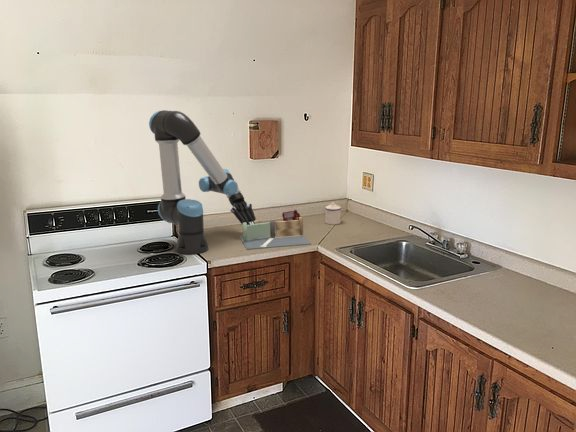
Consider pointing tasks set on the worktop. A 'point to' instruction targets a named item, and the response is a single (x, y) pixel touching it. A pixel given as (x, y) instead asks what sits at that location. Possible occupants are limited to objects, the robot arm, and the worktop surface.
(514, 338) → the worktop surface
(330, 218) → the teacup with lid
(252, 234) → the hinged fence panel
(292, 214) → the toy fire truck
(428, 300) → the worktop surface
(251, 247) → the card
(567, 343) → the worktop surface
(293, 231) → the fixed fence panel
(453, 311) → the worktop surface
